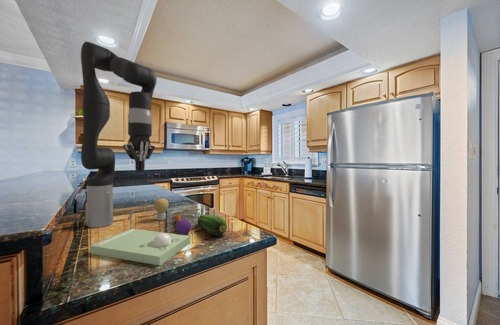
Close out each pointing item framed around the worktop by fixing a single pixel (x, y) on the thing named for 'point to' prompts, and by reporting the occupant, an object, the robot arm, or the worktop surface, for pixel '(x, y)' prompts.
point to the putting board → (139, 246)
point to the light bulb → (161, 208)
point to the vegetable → (212, 224)
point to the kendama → (182, 225)
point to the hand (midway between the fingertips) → (139, 171)
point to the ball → (162, 240)
